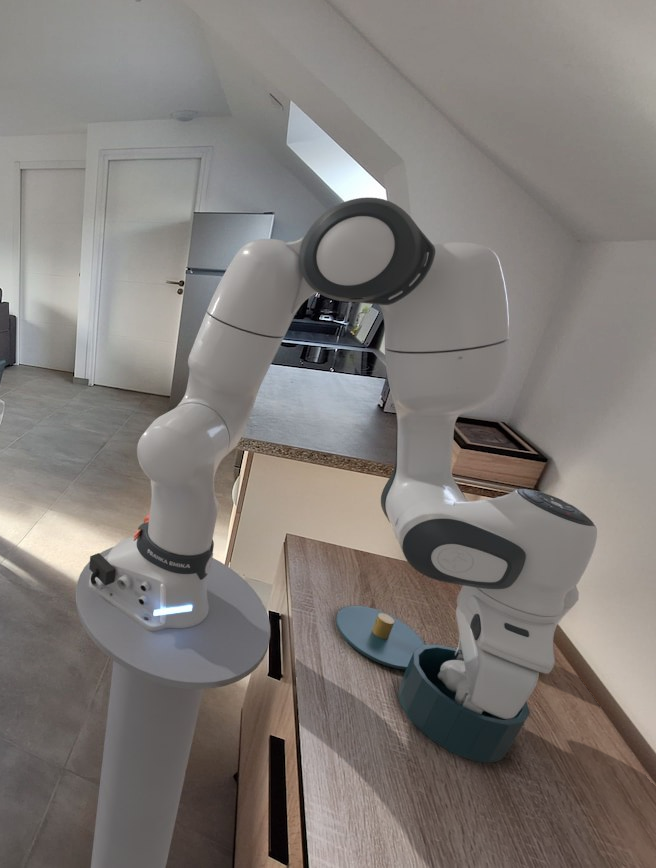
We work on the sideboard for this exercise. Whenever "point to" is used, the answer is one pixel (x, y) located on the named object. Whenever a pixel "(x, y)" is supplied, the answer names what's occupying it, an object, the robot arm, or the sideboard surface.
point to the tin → (453, 711)
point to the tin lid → (378, 635)
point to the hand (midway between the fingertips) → (465, 684)
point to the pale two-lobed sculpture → (454, 678)
